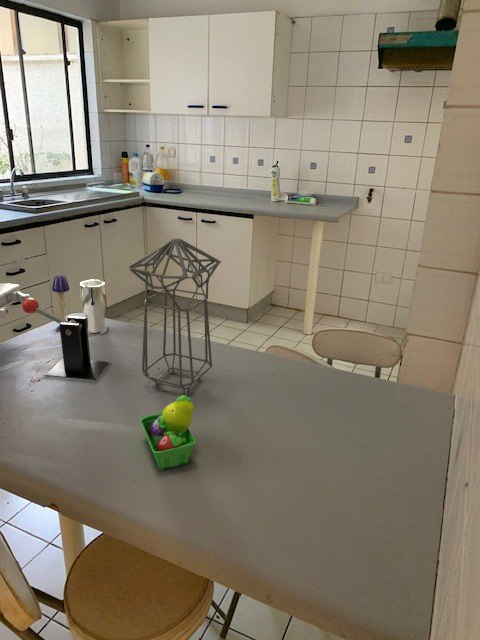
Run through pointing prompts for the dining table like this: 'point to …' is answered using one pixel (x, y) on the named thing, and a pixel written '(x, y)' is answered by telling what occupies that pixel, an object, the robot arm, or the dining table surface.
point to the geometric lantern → (163, 251)
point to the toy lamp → (60, 294)
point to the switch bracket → (76, 353)
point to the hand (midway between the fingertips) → (18, 305)
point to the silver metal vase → (94, 305)
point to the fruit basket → (171, 433)
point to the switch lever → (43, 311)
